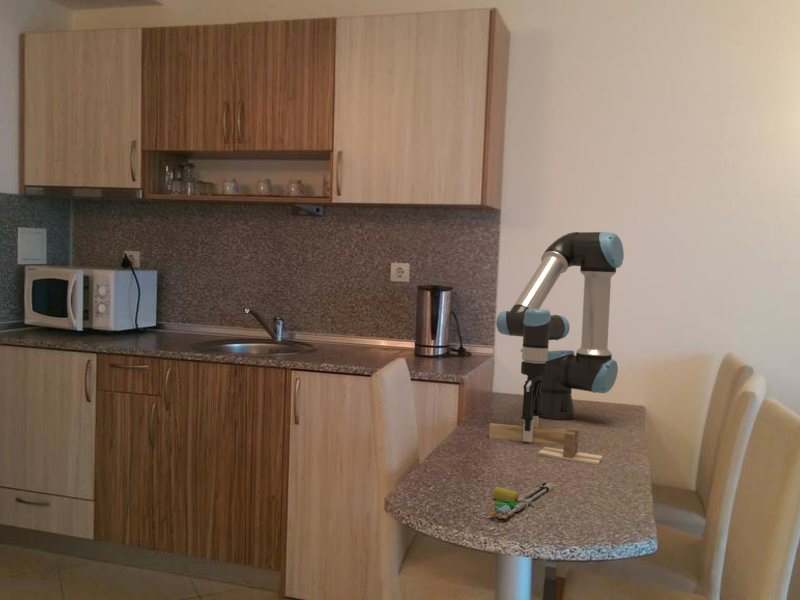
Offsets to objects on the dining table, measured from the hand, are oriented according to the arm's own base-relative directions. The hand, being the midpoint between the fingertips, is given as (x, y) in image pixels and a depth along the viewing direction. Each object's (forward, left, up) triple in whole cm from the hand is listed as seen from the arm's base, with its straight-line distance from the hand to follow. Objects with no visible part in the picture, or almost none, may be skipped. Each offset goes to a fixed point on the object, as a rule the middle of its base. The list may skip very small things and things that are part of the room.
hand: (529, 439), depth 204 cm
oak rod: (0, 0, -1) cm, 1 cm away
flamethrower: (+57, +11, -1) cm, 58 cm away
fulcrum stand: (+12, +14, 0) cm, 18 cm away
